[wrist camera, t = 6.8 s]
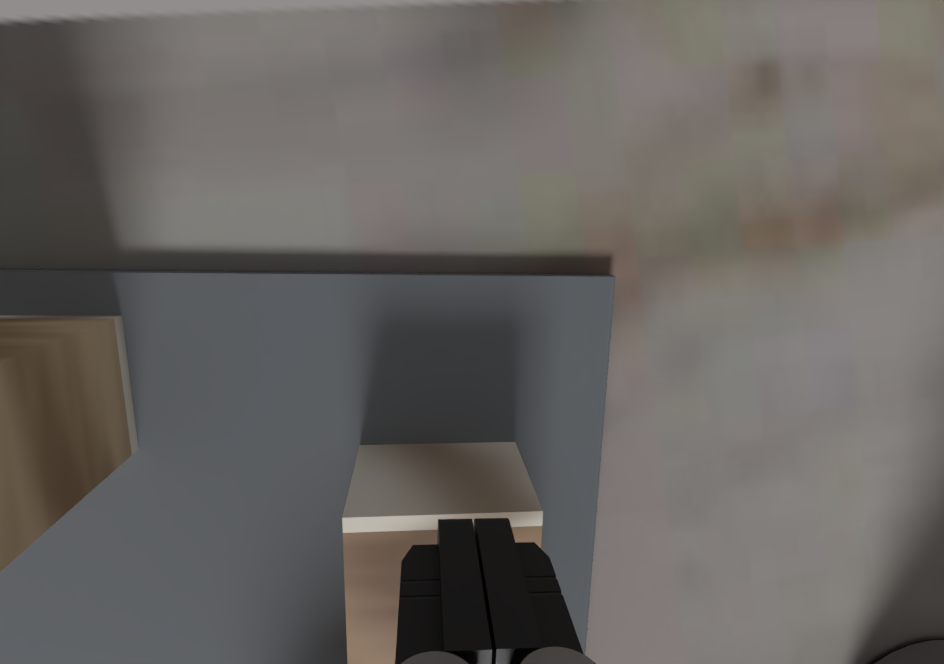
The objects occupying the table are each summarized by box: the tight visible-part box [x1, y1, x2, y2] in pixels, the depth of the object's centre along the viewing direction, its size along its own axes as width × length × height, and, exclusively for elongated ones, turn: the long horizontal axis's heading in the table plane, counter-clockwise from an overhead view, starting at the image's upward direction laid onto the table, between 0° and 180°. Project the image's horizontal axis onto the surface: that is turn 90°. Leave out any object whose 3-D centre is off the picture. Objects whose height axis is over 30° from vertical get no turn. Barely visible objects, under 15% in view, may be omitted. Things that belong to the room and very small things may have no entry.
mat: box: [0, 269, 615, 664], centre depth 22 cm, size 27×18×1 cm, turn 89°
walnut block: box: [342, 442, 543, 664], centre depth 20 cm, size 6×5×11 cm
